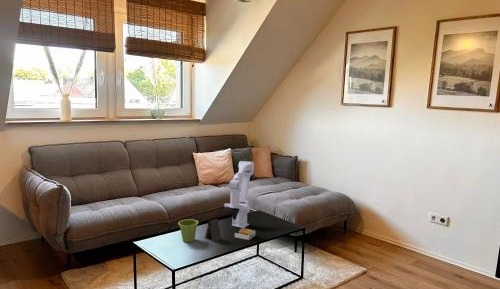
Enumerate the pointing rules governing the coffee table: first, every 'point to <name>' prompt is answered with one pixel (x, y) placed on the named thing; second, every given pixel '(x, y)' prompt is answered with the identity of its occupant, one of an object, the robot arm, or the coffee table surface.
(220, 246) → the coffee table surface
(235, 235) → the coupler channel
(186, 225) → the plant pot
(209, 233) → the dark tent-shaped stand
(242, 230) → the block
